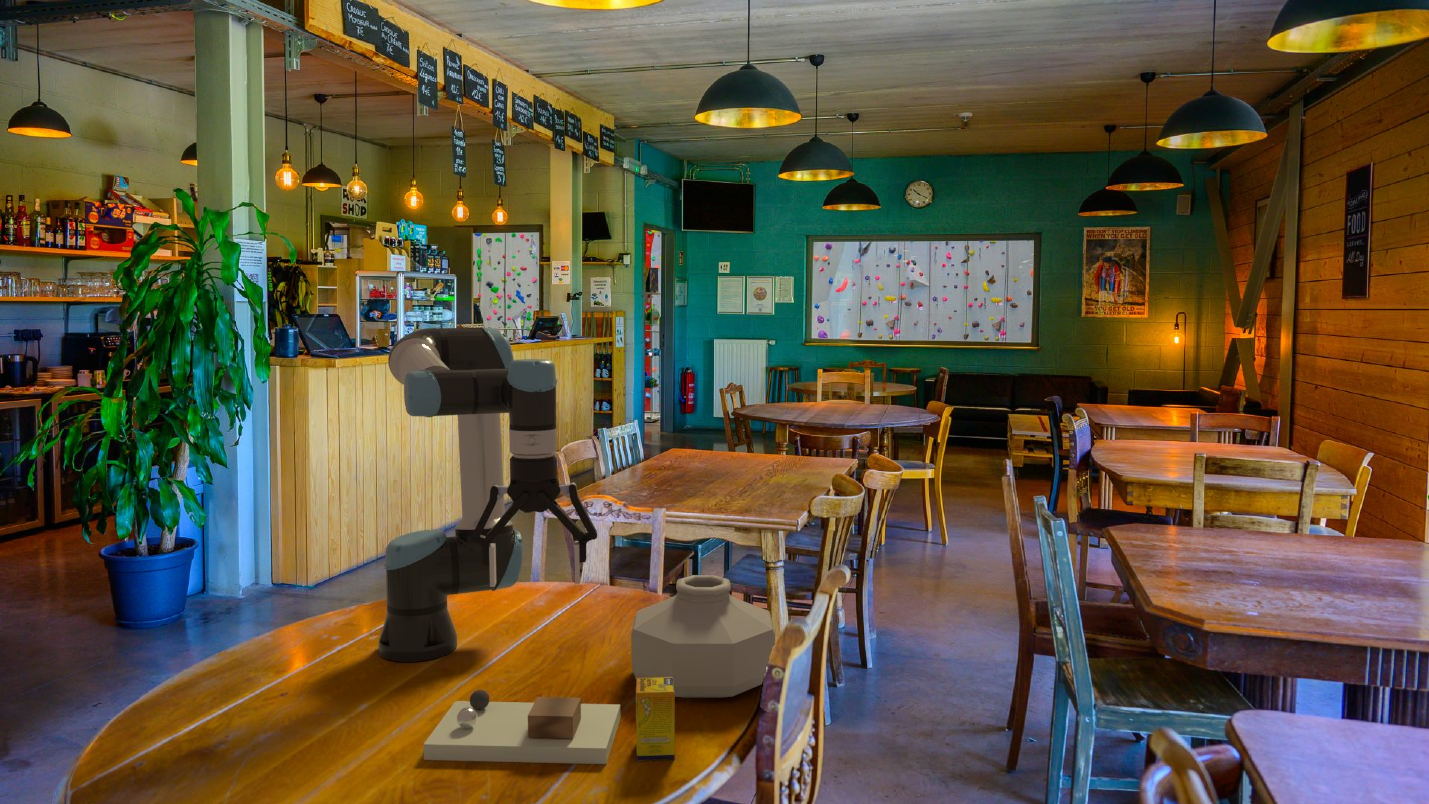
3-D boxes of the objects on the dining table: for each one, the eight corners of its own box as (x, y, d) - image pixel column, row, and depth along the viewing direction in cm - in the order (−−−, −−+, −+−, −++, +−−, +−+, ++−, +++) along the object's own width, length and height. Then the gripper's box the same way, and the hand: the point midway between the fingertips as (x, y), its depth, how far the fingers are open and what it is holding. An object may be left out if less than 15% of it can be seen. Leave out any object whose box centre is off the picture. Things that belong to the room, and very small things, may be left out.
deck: (423, 759, 147) (423, 744, 147) (455, 715, 163) (455, 701, 163) (606, 764, 146) (606, 748, 146) (620, 718, 162) (620, 704, 162)
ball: (454, 731, 151) (453, 712, 151) (460, 723, 154) (460, 703, 154) (474, 732, 151) (474, 712, 151) (480, 723, 154) (479, 704, 154)
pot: (608, 663, 187) (608, 569, 185) (739, 643, 198) (740, 555, 196) (657, 720, 162) (657, 612, 160) (805, 694, 173) (806, 593, 171)
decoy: (467, 713, 158) (466, 694, 158) (473, 704, 161) (472, 686, 161) (486, 713, 158) (486, 694, 158) (491, 705, 161) (491, 686, 161)
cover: (528, 737, 149) (527, 715, 148) (538, 717, 156) (537, 697, 155) (573, 738, 148) (572, 716, 148) (580, 718, 155) (580, 697, 155)
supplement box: (635, 743, 153) (635, 677, 152) (673, 742, 153) (673, 676, 152) (635, 761, 147) (635, 692, 146) (675, 760, 148) (675, 691, 146)
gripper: (451, 459, 150) (454, 592, 152) (611, 456, 154) (612, 586, 156) (457, 452, 158) (460, 579, 160) (610, 450, 161) (611, 574, 163)
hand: (535, 583), depth 158 cm, fingers open, 13 cm apart
